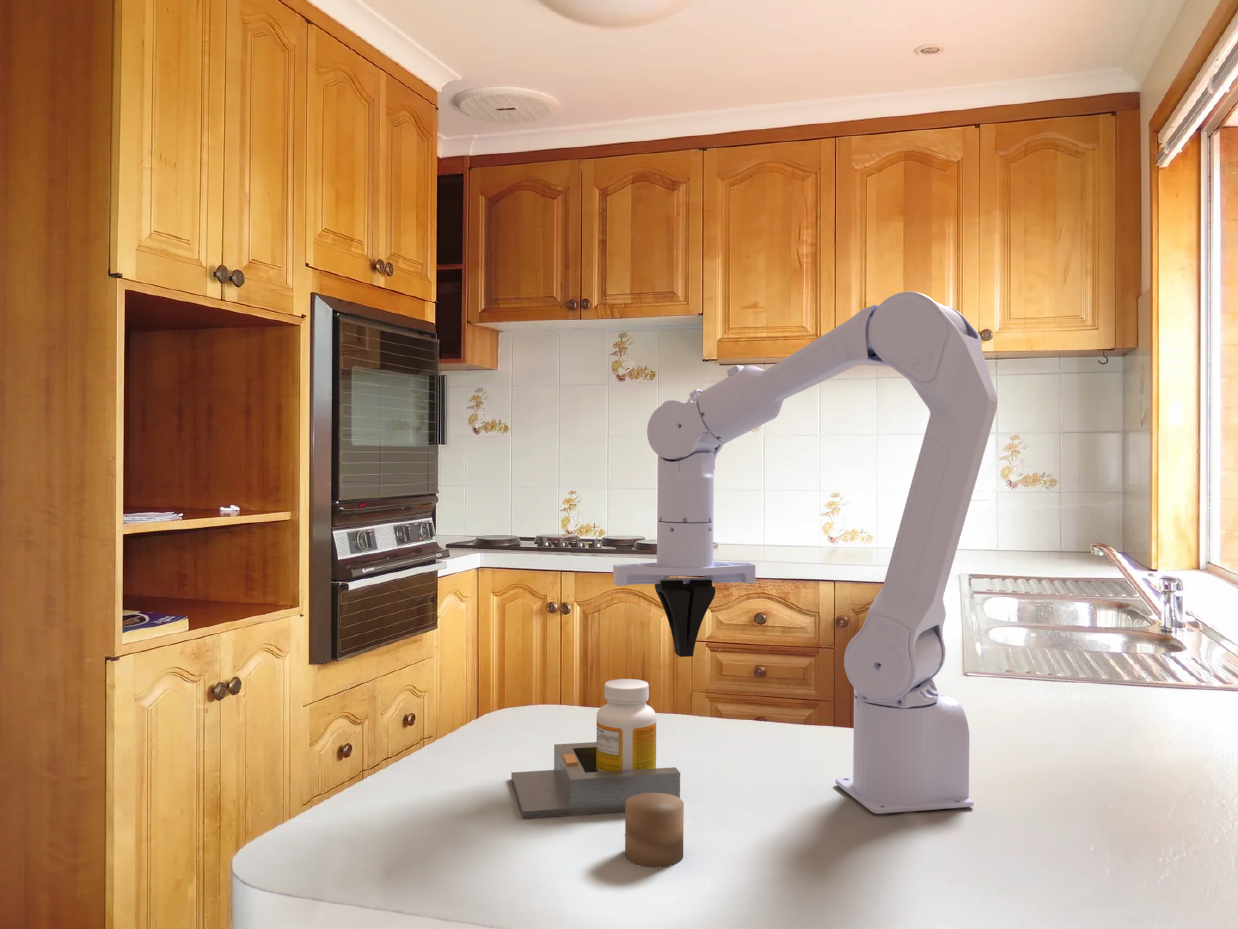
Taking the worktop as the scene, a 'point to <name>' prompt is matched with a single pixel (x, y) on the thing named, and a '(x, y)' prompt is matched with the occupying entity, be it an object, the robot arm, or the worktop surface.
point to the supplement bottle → (626, 728)
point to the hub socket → (586, 785)
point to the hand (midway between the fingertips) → (683, 654)
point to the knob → (654, 829)
